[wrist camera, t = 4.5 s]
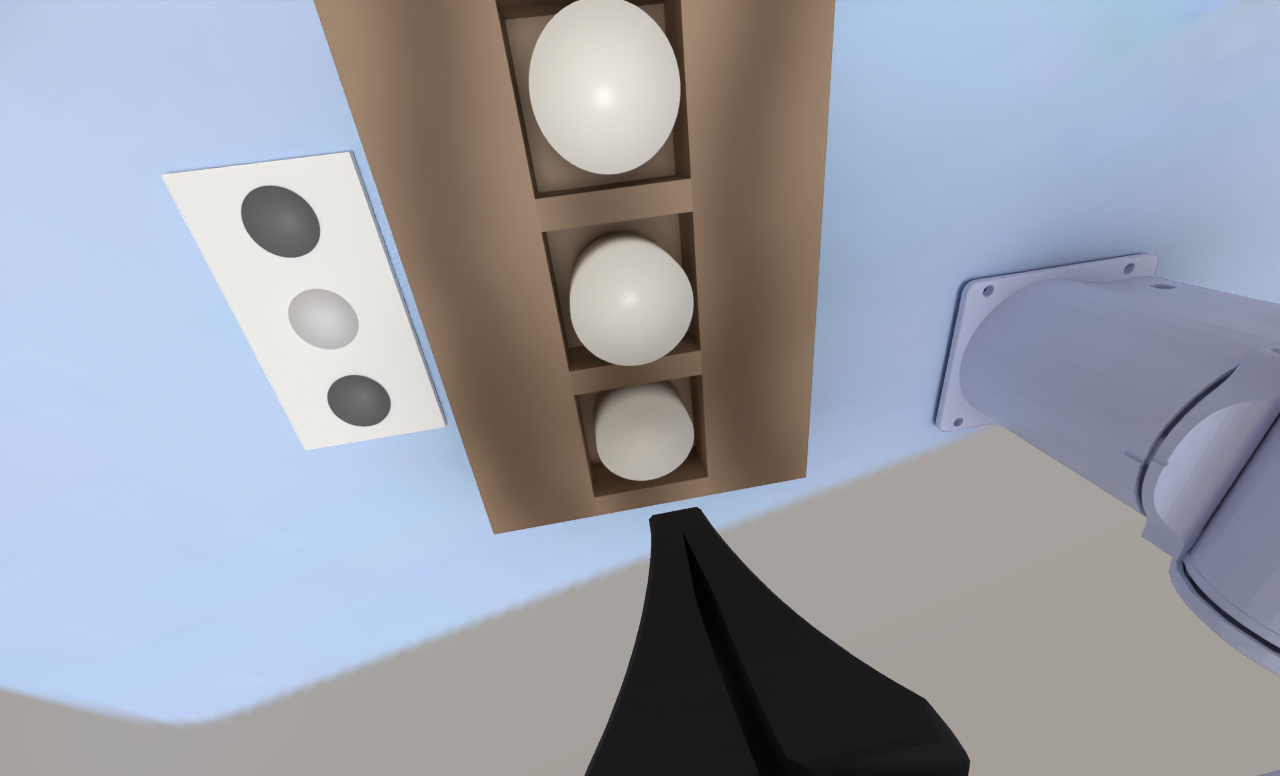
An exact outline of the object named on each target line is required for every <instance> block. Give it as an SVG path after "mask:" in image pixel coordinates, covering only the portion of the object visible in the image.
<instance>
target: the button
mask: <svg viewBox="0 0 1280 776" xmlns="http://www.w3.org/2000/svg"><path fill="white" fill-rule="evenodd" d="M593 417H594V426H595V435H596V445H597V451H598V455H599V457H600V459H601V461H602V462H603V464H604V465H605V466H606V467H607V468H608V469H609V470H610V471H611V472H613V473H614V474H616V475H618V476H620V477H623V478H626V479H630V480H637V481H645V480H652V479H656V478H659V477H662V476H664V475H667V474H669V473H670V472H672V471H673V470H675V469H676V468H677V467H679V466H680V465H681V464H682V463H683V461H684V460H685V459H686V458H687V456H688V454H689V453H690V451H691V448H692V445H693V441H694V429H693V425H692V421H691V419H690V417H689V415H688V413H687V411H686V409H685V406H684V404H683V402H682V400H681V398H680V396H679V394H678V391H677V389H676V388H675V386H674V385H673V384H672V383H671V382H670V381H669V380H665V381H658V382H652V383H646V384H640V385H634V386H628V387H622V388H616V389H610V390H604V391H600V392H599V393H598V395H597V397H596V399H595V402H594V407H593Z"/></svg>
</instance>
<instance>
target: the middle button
mask: <svg viewBox="0 0 1280 776" xmlns="http://www.w3.org/2000/svg"><path fill="white" fill-rule="evenodd" d="M569 292H570V313H571V320H572V324H573V327H574V330H575V332H576V334H577V336H578V338H579V339H580V341H581V342H582V343H583V345H584V346H585V347H586V348H587V349H588V350H589V351H590V352H592V353H593V354H594V355H595V356H597V357H599V358H601V359H602V360H605V361H607V362H609V363H613V364H617V365H623V366H636V365H642V364H647V363H650V362H653V361H655V360H657V359H659V358H661V357H663V356H664V355H666V354H668V353H669V352H670V351H671V350H672V349H674V348H675V347H676V345H677V344H678V343H679V342H680V341H681V339H682V338H683V337H684V335H685V333H686V332H687V330H688V327H689V325H690V322H691V319H692V314H693V292H692V288H691V285H690V282H689V280H688V277H687V276H686V274H685V272H684V271H683V269H682V268H681V267H680V266H679V264H678V263H677V262H676V261H675V260H674V259H673V258H672V257H671V256H670V255H669V254H668V253H667V252H666V251H665V250H664V249H663V248H662V247H661V246H660V245H659V244H657V243H656V242H654V241H653V240H651V239H649V238H648V237H645V236H643V235H640V234H635V233H628V232H622V233H614V234H609V235H607V236H604V237H601V238H600V239H598V240H596V241H594V242H593V243H592V244H590V245H589V246H588V247H587V248H586V249H585V250H584V251H583V252H582V253H581V254H580V256H579V257H578V259H577V261H576V262H575V265H574V267H573V269H572V273H571V277H570V286H569Z"/></svg>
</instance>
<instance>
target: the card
mask: <svg viewBox="0 0 1280 776" xmlns="http://www.w3.org/2000/svg"><path fill="white" fill-rule="evenodd" d="M161 176H162V178H163V180H164V182H165V184H166V186H167V187H168V189H169V191H170V193H171V195H172V197H173V199H174V201H175V203H176V205H177V207H178V208H179V210H180V212H181V214H182V216H183V218H184V220H185V222H186V224H187V226H188V227H189V229H190V231H191V233H192V235H193V237H194V239H195V241H196V243H197V245H198V247H199V248H200V250H201V252H202V254H203V256H204V258H205V260H206V262H207V264H208V266H209V267H210V269H211V271H212V273H213V275H214V277H215V279H216V281H217V283H218V285H219V287H220V288H221V290H222V292H223V294H224V296H225V298H226V300H227V302H228V304H229V306H230V307H231V309H232V311H233V313H234V315H235V317H236V319H237V321H238V323H239V325H240V327H241V328H242V330H243V332H244V334H245V336H246V338H247V340H248V342H249V344H250V346H251V347H252V349H253V351H254V353H255V355H256V357H257V359H258V361H259V363H260V365H261V366H262V368H263V370H264V372H265V374H266V376H267V378H268V380H269V382H270V384H271V386H272V387H273V389H274V391H275V393H276V395H277V397H278V399H279V401H280V403H281V405H282V406H283V408H284V410H285V412H286V414H287V416H288V418H289V420H290V422H291V424H292V426H293V427H294V429H295V431H296V433H297V435H298V437H299V439H300V441H301V443H302V445H303V446H304V448H305V450H310V449H316V448H322V447H328V446H334V445H340V444H346V443H352V442H358V441H364V440H370V439H376V438H383V437H389V436H395V435H401V434H407V433H413V432H419V431H425V430H431V429H437V428H443V427H446V425H447V421H446V418H445V416H444V413H443V410H442V407H441V404H440V401H439V398H438V396H437V393H436V390H435V387H434V384H433V381H432V378H431V375H430V373H429V370H428V367H427V364H426V361H425V358H424V355H423V352H422V350H421V347H420V344H419V341H418V338H417V335H416V332H415V330H414V327H413V324H412V321H411V318H410V315H409V312H408V309H407V307H406V304H405V301H404V298H403V295H402V292H401V289H400V286H399V284H398V281H397V278H396V275H395V272H394V269H393V266H392V264H391V261H390V258H389V255H388V252H387V249H386V246H385V243H384V241H383V238H382V235H381V232H380V229H379V226H378V223H377V221H376V218H375V215H374V212H373V209H372V206H371V203H370V200H369V198H368V195H367V192H366V189H365V186H364V183H363V180H362V177H361V175H360V172H359V169H358V166H357V163H356V160H355V157H354V155H353V152H343V153H335V154H327V155H319V156H310V157H302V158H294V159H286V160H278V161H269V162H261V163H253V164H245V165H236V166H228V167H220V168H212V169H204V170H195V171H187V172H179V173H171V174H162V175H161Z"/></svg>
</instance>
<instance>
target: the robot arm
mask: <svg viewBox="0 0 1280 776" xmlns="http://www.w3.org/2000/svg"><path fill="white" fill-rule="evenodd" d="M1157 264H1158V258H1157V256H1156V255H1153V254H1147V253H1144V254H1137V255H1131V256H1124V257H1118V258H1111V259H1105V260H1099V261H1092V262H1086V263H1079V264H1073V265H1066V266H1060V267H1054V268H1047V269H1041V270H1034V271H1028V272H1022V273H1015V274H1009V275H1002V276H996V277H989V278H983V279H977V280H973V281H970V282H969V283H968V284H966V286H965V287H964V289H963V291H962V296H961V300H960V305H959V310H958V315H957V320H956V325H955V330H954V335H953V340H952V344H951V349H950V354H949V359H948V364H947V369H946V374H945V379H944V384H943V388H942V393H941V398H940V403H939V408H938V413H937V418H936V426H937V428H939V429H940V430H941V431H952V430H958V429H963V428H969V427H975V426H980V425H986V424H991V423H998V424H1000V425H1002V426H1003V427H1005V428H1006V429H1008V430H1009V431H1011V432H1013V433H1014V434H1016V435H1017V436H1019V437H1020V438H1022V439H1024V440H1025V441H1027V442H1028V443H1030V444H1032V445H1033V446H1035V447H1036V448H1038V449H1039V450H1041V451H1043V452H1044V453H1046V454H1047V455H1049V456H1050V457H1052V458H1054V459H1055V460H1057V461H1058V462H1060V463H1061V464H1063V465H1065V466H1066V467H1068V468H1069V469H1071V470H1073V471H1074V472H1076V473H1077V474H1079V475H1080V476H1082V477H1084V478H1085V479H1087V480H1088V481H1090V482H1091V483H1093V484H1095V485H1096V486H1098V487H1099V488H1101V489H1103V490H1104V491H1106V492H1107V493H1109V494H1110V495H1112V496H1114V497H1115V498H1117V499H1118V500H1120V501H1122V502H1123V503H1125V504H1126V505H1128V506H1130V507H1131V508H1133V509H1134V510H1136V511H1137V512H1139V513H1140V514H1142V515H1144V516H1145V517H1147V521H1146V525H1145V528H1144V530H1143V532H1142V537H1143V538H1145V539H1146V540H1148V541H1149V542H1151V543H1152V544H1154V545H1155V546H1157V547H1158V548H1160V549H1162V550H1163V551H1164V552H1166V553H1167V554H1169V555H1170V556H1172V557H1173V559H1172V560H1171V563H1170V568H1169V574H1170V578H1171V582H1172V584H1173V586H1174V588H1175V590H1176V592H1177V593H1178V594H1179V596H1180V597H1181V598H1182V600H1183V601H1184V602H1185V604H1186V605H1187V606H1188V607H1189V608H1190V609H1191V610H1192V611H1193V612H1194V613H1195V614H1196V615H1197V617H1198V618H1200V620H1202V621H1203V622H1204V623H1205V624H1206V625H1207V626H1208V627H1209V628H1210V629H1211V630H1212V631H1213V632H1215V633H1216V634H1217V635H1218V636H1219V637H1220V638H1222V639H1223V640H1224V641H1225V642H1227V643H1228V644H1229V645H1230V646H1232V647H1233V648H1235V649H1236V650H1237V651H1239V652H1240V653H1241V654H1243V655H1244V656H1246V657H1247V658H1249V659H1250V660H1252V661H1254V662H1255V663H1257V664H1258V665H1260V666H1261V667H1263V668H1265V669H1266V670H1268V671H1270V672H1272V673H1273V674H1275V675H1277V676H1279V677H1280V304H1276V303H1271V302H1266V301H1262V300H1257V299H1253V298H1248V297H1243V296H1239V295H1234V294H1230V293H1225V292H1220V291H1216V290H1211V289H1207V288H1202V287H1197V286H1193V285H1188V284H1184V283H1179V282H1174V281H1170V280H1165V279H1161V278H1156V277H1153V274H1154V272H1155V269H1156V266H1157ZM986 287H987V289H986V291H985V292H984V293H983V291H984V289H985V288H986ZM956 419H957V420H956ZM955 420H956V421H955ZM954 421H955V422H954ZM649 523H650V530H651V558H650V568H649V577H648V584H647V591H646V596H645V601H644V607H643V612H642V617H641V621H640V625H639V630H638V633H637V637H636V641H635V645H634V648H633V652H632V655H631V658H630V662H629V665H628V669H627V671H626V674H625V677H624V681H623V683H622V686H621V689H620V692H619V695H618V697H617V700H616V702H615V705H614V708H613V710H612V713H611V715H610V718H609V721H608V723H607V726H606V728H605V730H604V733H603V735H602V737H601V739H600V742H599V744H598V746H597V748H596V751H595V753H594V755H593V757H592V759H591V762H590V764H589V766H588V768H587V771H586V773H585V776H968V773H969V765H970V760H969V757H968V755H967V753H966V752H965V750H964V749H963V747H962V745H961V744H960V743H959V741H958V739H957V738H956V737H955V735H954V734H953V732H952V731H951V730H950V728H949V727H948V726H947V725H946V723H945V722H944V721H943V720H942V718H941V717H940V716H939V715H938V714H937V712H936V711H935V710H934V709H933V707H932V706H931V705H930V704H929V703H928V702H927V700H926V699H924V698H923V697H921V696H919V695H917V694H916V693H914V692H912V691H910V690H909V689H907V688H905V687H903V686H902V685H900V684H898V683H896V682H895V681H893V680H891V679H890V678H888V677H886V676H885V675H883V674H881V673H879V672H878V671H876V670H875V669H873V668H872V667H870V666H869V665H867V664H866V663H864V662H863V661H861V660H859V659H858V658H856V657H855V656H853V655H852V654H850V653H849V652H847V651H846V650H845V649H843V648H842V647H840V646H839V645H838V644H836V643H835V642H834V641H832V640H831V639H829V638H828V637H827V636H825V635H824V634H823V633H821V632H820V631H818V630H817V629H816V628H814V627H813V626H812V625H811V624H809V623H808V622H807V621H806V620H804V619H803V618H802V617H801V616H799V615H798V614H797V613H796V612H795V611H793V610H792V609H791V608H790V607H789V606H788V605H786V604H785V603H784V602H783V601H782V600H781V599H780V598H778V597H777V596H776V595H775V594H774V593H773V592H772V591H771V590H770V589H769V588H767V586H766V585H765V584H764V583H763V582H761V581H760V579H758V577H757V576H756V575H755V574H753V572H752V571H751V570H750V569H749V568H748V567H747V566H746V565H745V564H744V563H743V562H742V561H741V560H740V558H738V556H737V555H736V554H735V553H734V552H733V551H732V550H731V548H730V547H729V546H728V545H727V544H726V543H725V541H724V540H723V539H722V538H721V536H720V535H719V534H718V533H717V531H716V530H715V529H714V528H713V526H712V525H711V524H710V522H709V521H708V519H707V518H706V516H705V515H704V514H703V512H702V510H701V509H699V508H698V507H693V508H688V509H682V510H677V511H672V512H667V513H662V514H657V515H652V517H651V518H650V519H649ZM1258 776H1280V770H1277V771H1274V772H1269V773H1266V774H1262V775H1258Z"/></svg>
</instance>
